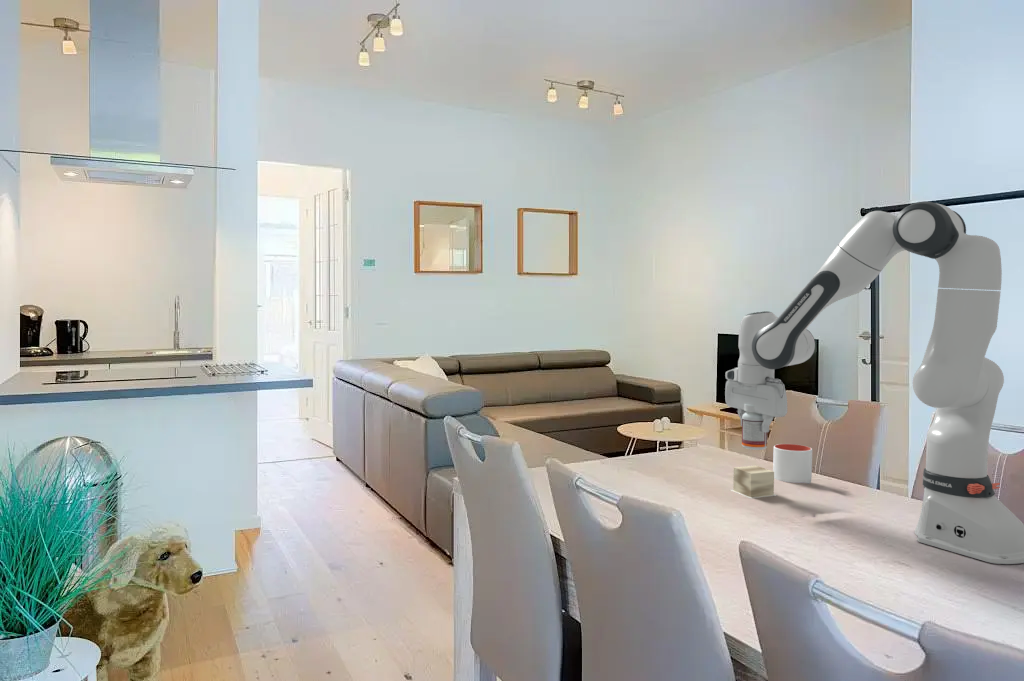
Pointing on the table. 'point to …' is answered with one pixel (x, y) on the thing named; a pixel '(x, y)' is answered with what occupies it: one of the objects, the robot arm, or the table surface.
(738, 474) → the maple block
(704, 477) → the table surface
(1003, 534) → the robot arm
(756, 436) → the pill bottle
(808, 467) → the cup
